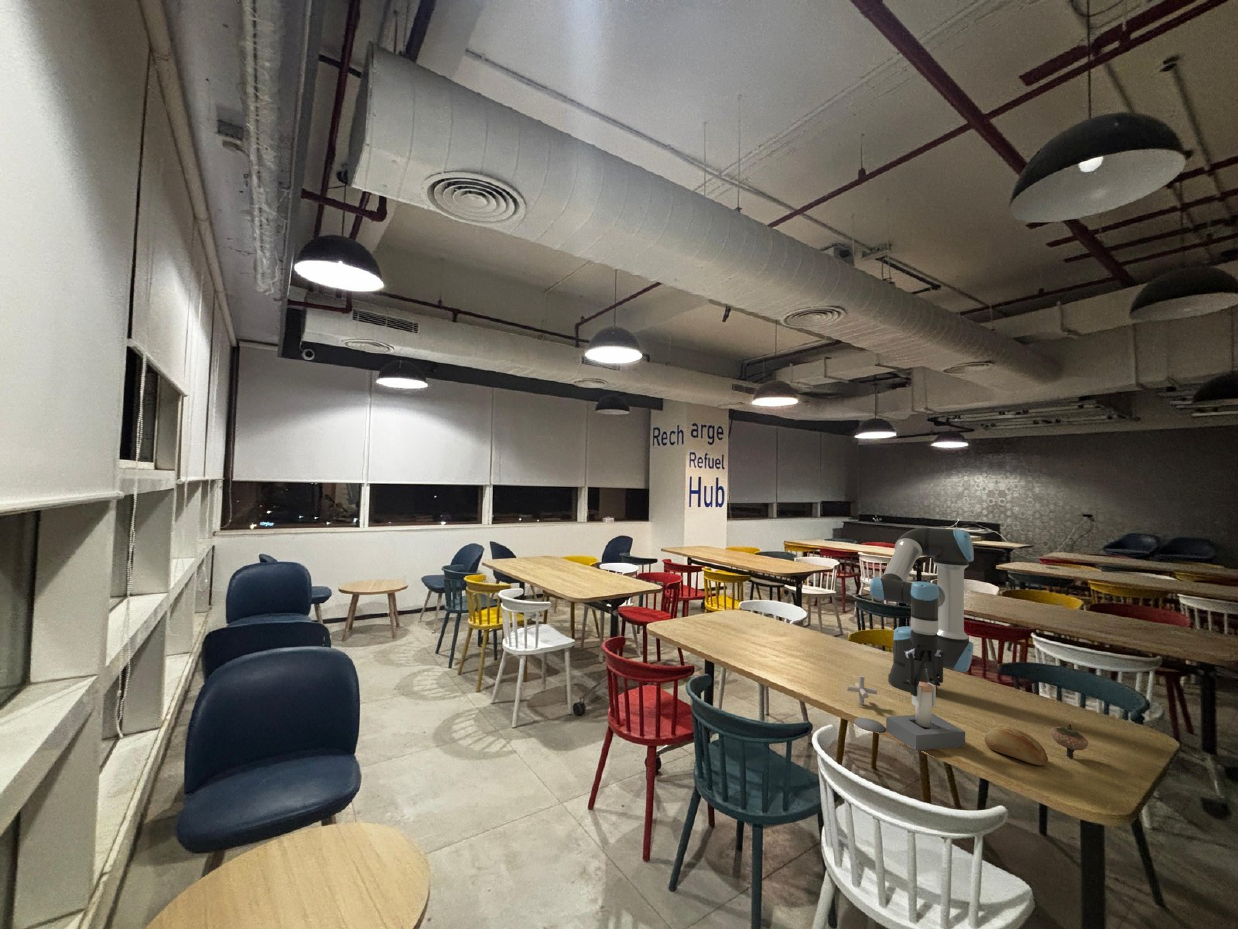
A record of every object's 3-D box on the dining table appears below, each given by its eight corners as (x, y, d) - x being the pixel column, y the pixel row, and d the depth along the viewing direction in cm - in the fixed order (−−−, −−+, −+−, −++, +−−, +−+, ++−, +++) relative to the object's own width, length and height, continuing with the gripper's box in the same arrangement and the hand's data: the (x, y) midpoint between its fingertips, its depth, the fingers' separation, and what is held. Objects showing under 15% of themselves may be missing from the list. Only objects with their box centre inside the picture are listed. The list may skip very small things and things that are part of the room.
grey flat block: (932, 727, 161) (932, 713, 162) (965, 746, 150) (965, 731, 150) (886, 730, 158) (886, 716, 158) (915, 750, 146) (916, 735, 146)
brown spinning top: (1047, 755, 147) (1047, 721, 147) (1055, 747, 151) (1055, 715, 152) (1084, 768, 140) (1084, 733, 140) (1091, 760, 145) (1091, 726, 145)
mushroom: (923, 719, 157) (923, 681, 157) (936, 727, 152) (937, 687, 153) (910, 720, 156) (910, 682, 156) (923, 728, 151) (923, 688, 152)
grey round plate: (871, 718, 166) (871, 717, 166) (891, 731, 157) (891, 730, 157) (848, 719, 164) (848, 718, 164) (867, 733, 156) (867, 731, 156)
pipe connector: (880, 712, 172) (880, 683, 172) (850, 708, 174) (850, 679, 174) (871, 700, 181) (872, 673, 182) (843, 696, 183) (843, 669, 184)
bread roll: (1043, 774, 136) (1043, 745, 136) (979, 750, 148) (979, 724, 148) (1051, 763, 142) (1051, 735, 143) (988, 741, 154) (988, 715, 154)
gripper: (937, 627, 161) (937, 698, 160) (891, 628, 157) (890, 701, 156) (958, 634, 153) (957, 709, 152) (909, 635, 150) (909, 712, 149)
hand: (923, 705), depth 154 cm, fingers closed on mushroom, 5 cm apart
